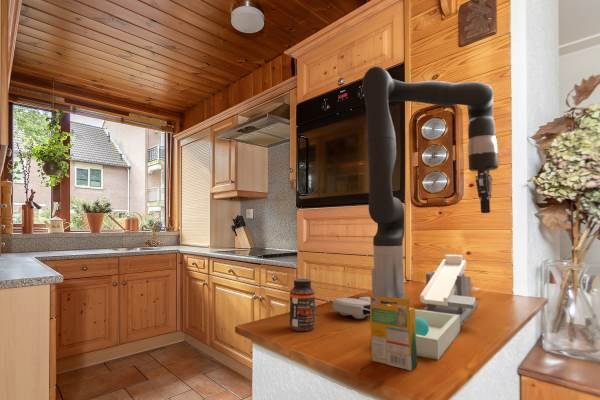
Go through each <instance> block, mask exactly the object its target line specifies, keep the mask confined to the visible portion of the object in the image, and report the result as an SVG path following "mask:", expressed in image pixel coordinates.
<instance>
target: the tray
mask: <svg viewBox="0 0 600 400" xmlns="http://www.w3.org/2000/svg"><path fill="white" fill-rule="evenodd" d="M416 317H419V318H422V319H424V320H425V321H426V322H427V324H428V326H429V331H428V333H427V335H426V336H423V335H417V334H416V350H417V356H418V357H421V358H427V359H432V360H440V359H441V357H442V356H443V354H444V353H445V351H447V349H448V348H449V347H450V345H451V343H452V342H453V341H454V340H456V337H457V336H458V335H459V333H460V332H461V327H460V315H455V314H448V313H440V312H432V311H425V310H422V309H416V308H415V318H416Z"/></svg>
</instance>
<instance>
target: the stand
mask: <svg viewBox="0 0 600 400" xmlns="http://www.w3.org/2000/svg"><path fill="white" fill-rule="evenodd" d="M435 272H436V271H429V272H426V273H425V280H426V281H425V283H426V285H427V284H428V282H429V281H430V279H431V278H432V276H433V275H434V273H435ZM465 276H466V275H465V273H464V274H459V275H458V276H457V293H458V296H466V294H465ZM476 308H478V302H477V301H476V303H475V306H474V309H469V308H460V307H452V306H443V305H435V304H426V306H425V307H423V308H422V309H421V310H425V311H432V312H440V313H448V314H455V315H460V328H462V326H464V324H465V323H466V321H467V320H468V319H469V318H470V316H471V315H472V314H473V313H474V311H475V310H476Z"/></svg>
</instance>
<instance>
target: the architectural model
mask: <svg viewBox="0 0 600 400" xmlns="http://www.w3.org/2000/svg"><path fill="white" fill-rule="evenodd" d="M471 280H472V277H471V276H467V275H465V294H466V296H467V297H473V296H472V291H478V290H480V289H481V288H480V287H474V285H473V284H472V281H471ZM453 295H457V296H458V293H457V287H456V290H455V292H454V294H453Z"/></svg>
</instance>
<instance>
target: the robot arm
mask: <svg viewBox="0 0 600 400" xmlns="http://www.w3.org/2000/svg"><path fill="white" fill-rule="evenodd" d="M361 83H362V85H361V87H362V92H363V97H364V104H365V112H366V116H365V117H366V122H365V123H366V149H367V161H368V162H367V163H368V179H369V188H368V189H369V190H368V191H369V192H368V214H369V216H370V219H372V221H373V222H374V223H376V224H377V230H376V233H375V235H374V236H373V238H372V243H373V248H372V250H373V268H372V269H371V295H374V296H382V297H390V298H399V299H405V273H404V272H405V271H404V246H403V245H404V244H403V243H404V237H405V208H404V204H403V203H402V201H401V200H400V199H399V198H398V197H395V196H394V195H393V185H392V183H393V181H392V178H393V172H394V170H395V169H394V168H395V163H396V160H397V142H396V141H397V140H396V139H397V138H396V131H395V127H394V123H393V120H392V116H391V111H390V107H389V102H413V103H422V104H429V105H435V106H441V107H442V106H443V107H454V106H456V105H460V106H462V105H463V106H467V116H468V117H467V118H468V126H467V134H468V135H467V137H468V142H467V143H468V144H467V154H468V155H467V156H468V157H467V158H468V170H469V171H471V172H477V175H475V177H474V178H475V179H474V180H475V185H476V192H477V197H478V199H479V200H480V213H481V214H490V213H491V202H490V201H491V198H492V191H493V175H491V174H490V171H494V170H497V169H499V153H498V143H497V138H496V123H495V120H494V96H495V95H494V94H495V93H494V89H493V88H492V86H490V85H489V84H488V83H485V82H480V81H479V82H478V81H470V82H469V81H468V82H466V81H465V82H456V83H455V82H449V81H444V80H443V81H442V80H441V81H440V80H424V81H417V82H416V81H414V82H409V81H408V82H407V81H400V80H397V79H394V78H392V76H391V75H390V73H389V72H388V70H386V69H385V68H383V67H381V66H372V67H370V68H369V69H368V70H367V71H366V72H365V73H364V76H363V79H362V82H361ZM381 303H393V302H392V301H390V300H387V301H385V300H381Z"/></svg>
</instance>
